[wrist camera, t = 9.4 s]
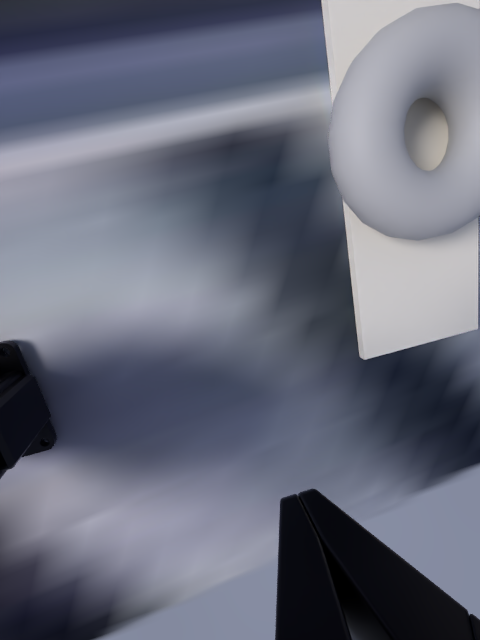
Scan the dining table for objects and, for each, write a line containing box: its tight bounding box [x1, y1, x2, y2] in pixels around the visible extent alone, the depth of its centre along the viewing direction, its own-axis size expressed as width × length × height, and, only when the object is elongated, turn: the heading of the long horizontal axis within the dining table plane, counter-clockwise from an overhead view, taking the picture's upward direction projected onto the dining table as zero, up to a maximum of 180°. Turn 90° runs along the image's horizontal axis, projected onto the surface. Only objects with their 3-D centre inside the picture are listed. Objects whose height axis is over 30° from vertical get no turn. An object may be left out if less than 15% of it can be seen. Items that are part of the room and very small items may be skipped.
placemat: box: [321, 0, 480, 360], centre depth 18 cm, size 8×22×1 cm, turn 12°
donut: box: [328, 3, 480, 241], centre depth 16 cm, size 10×4×10 cm
